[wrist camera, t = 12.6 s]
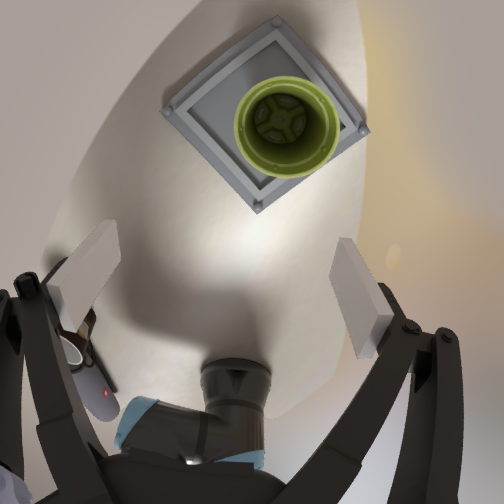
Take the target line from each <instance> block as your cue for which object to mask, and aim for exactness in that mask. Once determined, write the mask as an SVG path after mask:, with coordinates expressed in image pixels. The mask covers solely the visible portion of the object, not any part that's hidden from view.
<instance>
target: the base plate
mask: <svg viewBox="0 0 504 504" xmlns="http://www.w3.org/2000/svg"><path fill="white" fill-rule="evenodd" d="M277 76H294V77H299V78H302V79H305V80H308V81H310V82H312V83H314V84H316V85H317V86H318V87H320V88H321V89H322V90H323V91H324V92H325V93H326V94H327V95H328V96H329V97H330V99H331V100H332V102H333V103H334V105H335V107H336V110H337V112H338V116H339V122H340V135H339V140H338V144H337V147H336V149H335V151H334V153H333V154H332V156H331V157H330V158H329V160H328V161H327V162H326V163H328V162H329V161H331V160H332V159H333V158H335V157H336V156H338V155H339V154H340V153H342V152H343V151H345V150H346V149H348V148H349V147H350V146H352V145H353V144H355V143H356V142H357V141H359V140H360V139H362V138H363V137H365V136H366V135H367V134H369V133H370V130H369V128H368V127H367V125H366V124H365V122H364V121H363V119H362V118H361V116H360V115H359V113H358V112H357V110H356V109H355V107H354V106H353V104H352V103H351V102H350V100H349V99H348V97H347V96H346V95H345V93H344V92H343V90H342V89H341V88H340V86H339V85H338V84H337V82H336V81H335V80H334V78H333V77H332V76H331V75H330V73H329V72H328V71H327V70H326V68H325V67H324V66H323V65H322V63H321V62H320V61H319V60H318V58H317V57H316V56H315V55H314V54H313V52H312V51H311V50H310V49H309V48H308V47H307V46H306V44H305V43H304V42H303V41H302V40H301V39H300V38H299V37H298V35H297V34H296V33H295V32H294V31H293V30H292V29H291V28H290V27H289V26H288V25H287V24H286V23H285V22H284V21H283V20H282V19H281V18H280V17H279V16H278V15H277V16H275V17H274V18H272V19H271V20H269V21H267V22H266V23H264V24H263V25H262V26H260V27H259V28H257V29H256V30H254V31H253V32H251V33H250V34H249V35H247V36H246V37H244V38H243V39H242V40H240V41H239V42H238V43H236V44H235V45H234V46H232V47H231V48H230V49H228V50H227V51H226V52H225V53H223V54H222V55H221V56H220V57H218V58H217V59H216V60H215V61H213V62H212V63H211V64H210V65H209V66H207V67H206V68H205V69H204V70H203V71H201V72H200V73H199V74H198V75H197V76H196V77H195V78H193V79H192V80H191V81H190V82H189V83H188V84H187V85H186V86H185V87H183V88H182V89H181V90H180V91H179V92H178V93H177V94H176V95H175V96H174V97H173V98H172V99H171V100H170V101H169V102H168V103H167V104H166V105H165V106H164V107H163V108H162V109H161V110H160V112H161V114H162V115H163V116H164V117H165V118H166V119H167V120H168V121H169V122H170V123H171V124H172V125H173V126H174V127H175V128H176V129H177V130H178V131H179V132H180V133H181V134H182V135H183V136H184V137H185V138H186V139H187V140H188V141H189V142H190V143H191V144H192V145H193V146H194V148H195V149H196V150H197V151H198V152H199V153H200V154H201V155H202V156H203V157H204V158H205V159H206V160H207V161H208V162H209V163H210V164H211V165H212V166H213V168H214V169H215V170H216V171H217V172H218V173H219V174H220V175H221V176H222V177H223V178H224V179H225V180H226V181H227V182H228V184H229V185H230V186H231V187H232V188H233V189H234V190H235V191H236V192H237V193H238V194H239V195H240V196H241V198H242V199H243V200H244V201H245V202H246V203H247V204H248V205H249V206H250V207H251V208H252V210H253V211H254V212H255V213H256V214H258V213H260V212H261V211H262V210H264V209H265V208H266V207H268V206H269V205H270V204H272V203H273V202H274V201H276V200H277V199H279V198H280V197H281V196H283V195H284V194H285V193H287V192H288V191H289V190H291V189H292V188H293V187H295V186H296V185H298V184H299V183H300V182H302V181H303V180H304V179H306V178H307V177H309V176H310V175H311V174H313V173H314V172H315V171H314V172H312V173H310V174H307V175H305V176H302V177H297V178H278V177H273V176H270V175H267V174H265V173H262V172H261V171H259V170H257V169H256V168H254V167H253V166H252V165H251V164H250V163H249V162H248V161H247V160H246V159H245V158H244V156H243V155H242V153H241V152H240V150H239V148H238V146H237V143H236V140H235V135H234V117H235V113H236V109H237V107H238V105H239V103H240V101H241V99H242V98H243V96H244V95H245V94H246V93H247V92H248V91H249V90H250V89H251V88H252V87H253V86H255V85H256V84H258V83H260V82H262V81H264V80H266V79H269V78H273V77H277ZM280 100H281V101H285V102H288V103H290V104H291V103H292V101H290V100H289V99H283V98H282V99H280ZM263 111H264V109H263V108H262V109H261V110H260V113H259V115H258V117H259V119H261V118H262V113H263ZM279 121H281V122H282V121H283V118H281V117H280V118H279ZM301 127H302V120H300V123H299V126H298V128H297V130H300V129H301ZM270 137H271V138H272V139H275V140H281V138H278V137H274V136H272V135H270ZM326 163H325V164H326ZM325 164H324V165H325ZM324 165H323V166H324ZM320 168H321V167H320ZM320 168H319V169H320ZM317 170H318V169H317ZM317 170H316V171H317Z"/></svg>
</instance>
